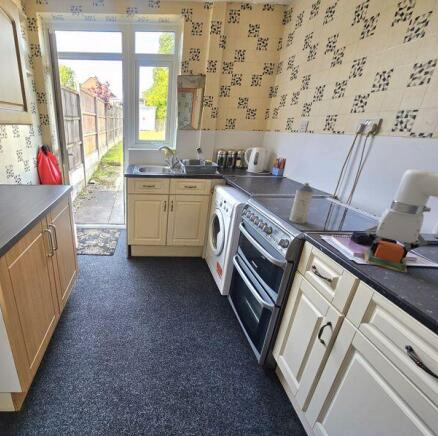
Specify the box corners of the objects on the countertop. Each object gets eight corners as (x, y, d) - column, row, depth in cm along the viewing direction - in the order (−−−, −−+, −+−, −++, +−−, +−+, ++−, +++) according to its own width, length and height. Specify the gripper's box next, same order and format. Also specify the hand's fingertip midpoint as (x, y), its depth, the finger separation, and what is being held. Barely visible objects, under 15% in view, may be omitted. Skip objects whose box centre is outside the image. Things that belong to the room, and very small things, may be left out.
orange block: (396, 256, 88) (401, 245, 86) (399, 263, 83) (404, 251, 81) (373, 250, 91) (377, 239, 90) (374, 257, 87) (379, 246, 85)
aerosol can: (307, 224, 121) (319, 184, 114) (295, 225, 120) (306, 185, 112) (297, 219, 127) (307, 181, 120) (285, 220, 126) (295, 181, 119)
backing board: (401, 261, 89) (404, 254, 88) (406, 274, 81) (409, 267, 80) (363, 252, 95) (366, 245, 94) (364, 263, 87) (367, 256, 86)
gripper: (442, 210, 78) (418, 259, 85) (371, 200, 88) (355, 244, 95) (449, 217, 73) (422, 268, 79) (372, 205, 83) (355, 251, 89)
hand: (386, 255), depth 87 cm, fingers closed on orange block, 6 cm apart
